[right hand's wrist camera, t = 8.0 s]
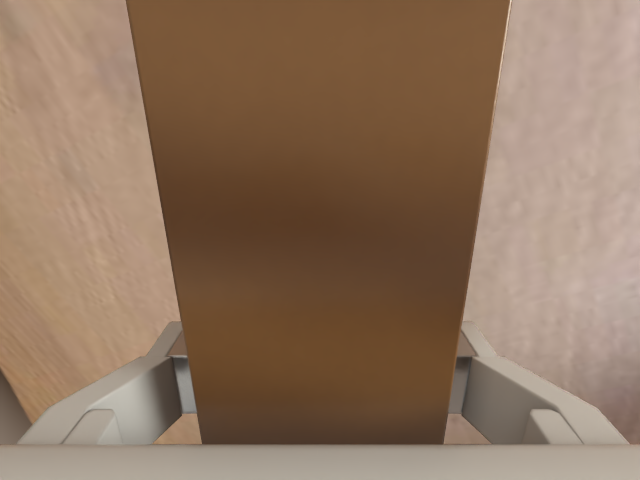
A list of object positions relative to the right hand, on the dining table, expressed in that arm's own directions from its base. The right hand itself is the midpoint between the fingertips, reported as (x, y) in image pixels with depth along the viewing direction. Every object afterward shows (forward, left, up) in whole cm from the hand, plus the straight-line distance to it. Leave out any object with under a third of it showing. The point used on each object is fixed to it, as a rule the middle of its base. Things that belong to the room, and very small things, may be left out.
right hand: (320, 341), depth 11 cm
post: (+18, -13, -3) cm, 22 cm away
